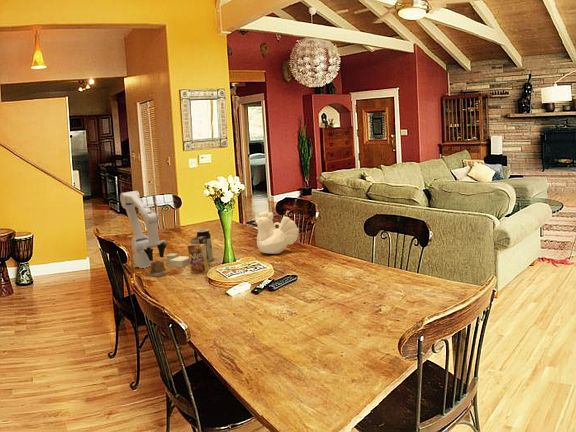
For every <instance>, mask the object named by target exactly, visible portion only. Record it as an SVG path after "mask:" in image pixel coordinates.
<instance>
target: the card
mask: <svg viewBox="0 0 576 432" xmlns="http://www.w3.org/2000/svg"><path fill="white" fill-rule="evenodd" d="M166 275H169V272H163V271H161V272H151V273H147V274H145V276H146V277H150V276H151V277H152V278H162V277H164V276H166Z"/></svg>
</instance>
